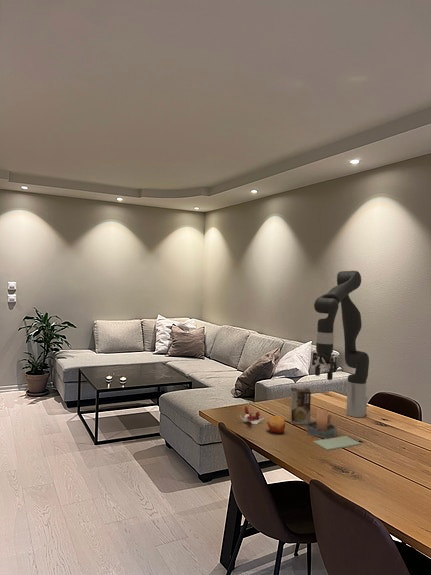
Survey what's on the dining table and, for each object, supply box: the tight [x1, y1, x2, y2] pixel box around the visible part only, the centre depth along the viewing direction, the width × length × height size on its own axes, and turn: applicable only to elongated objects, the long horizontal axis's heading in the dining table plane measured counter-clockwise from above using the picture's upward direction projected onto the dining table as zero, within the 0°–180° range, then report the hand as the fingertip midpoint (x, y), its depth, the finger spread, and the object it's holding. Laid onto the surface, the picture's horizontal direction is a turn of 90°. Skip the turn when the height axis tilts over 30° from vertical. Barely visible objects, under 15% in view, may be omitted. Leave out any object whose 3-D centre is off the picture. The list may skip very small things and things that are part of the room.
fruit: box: [266, 415, 286, 434], centre depth 196 cm, size 8×8×8 cm
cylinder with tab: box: [315, 408, 332, 431], centre depth 197 cm, size 7×5×10 cm
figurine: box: [239, 405, 264, 425], centre depth 206 cm, size 15×12×7 cm
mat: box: [312, 435, 362, 451], centre depth 184 cm, size 18×9×1 cm, turn 115°
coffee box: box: [289, 387, 312, 426], centre depth 209 cm, size 9×6×16 cm
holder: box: [305, 420, 338, 439], centre depth 196 cm, size 13×13×3 cm
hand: (323, 377), depth 196 cm, fingers open, 8 cm apart
